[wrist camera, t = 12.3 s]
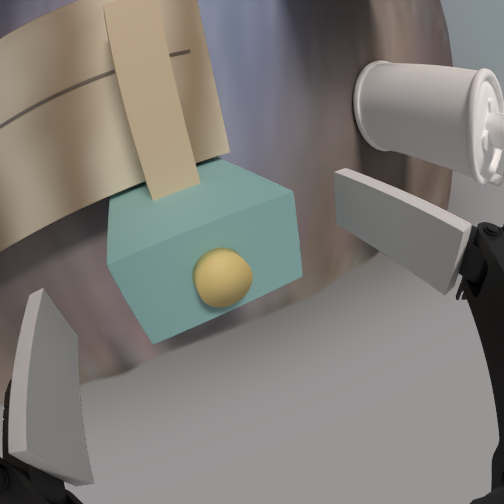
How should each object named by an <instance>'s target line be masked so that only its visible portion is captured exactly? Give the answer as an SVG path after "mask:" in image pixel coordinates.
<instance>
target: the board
mask: <svg viewBox="0 0 504 504" xmlns="http://www.w3.org/2000/svg"><path fill="white" fill-rule="evenodd" d="M113 1H116V0H79V1H76V2H73V3H71V4H68V5H66V6H63V7H61V8H59V9H56V10H54V11H52V12H49V13H47V14H45V15H43V16H41V17H39V18H37V19H35V20H33V21H31V22H29V23H27V24H25V25H23V26H21V27H20V28H18V29H16V30H14V31H13V32H11V33H9V34H7V35H6V36H4V37H3V38H1V39H0V252H1V251H3V250H4V249H6V248H8V247H9V246H11V245H13V244H14V243H16V242H18V241H20V240H21V239H23V238H25V237H27V236H28V235H30V234H32V233H34V232H36V231H38V230H40V229H41V228H43V227H45V226H47V225H49V224H51V223H53V222H55V221H57V220H59V219H61V218H63V217H65V216H67V215H69V214H71V213H73V212H75V211H77V210H79V209H81V208H84V207H86V206H88V205H90V204H92V203H94V202H97V201H99V200H101V199H103V198H106V197H108V196H110V195H113V194H115V193H117V192H120V191H122V190H125V189H127V188H129V187H132V186H134V185H137V184H139V183H142V182H145V178H144V175H143V172H142V169H141V166H140V163H139V159H138V156H137V153H136V149H135V146H134V143H133V139H132V136H131V132H130V129H129V125H128V122H127V118H126V114H125V111H124V107H123V103H122V99H121V95H120V91H119V87H118V83H117V78H116V74H115V70H114V65H113V61H112V56H111V51H110V46H109V41H108V36H107V30H106V25H105V19H104V7H103V4H106V3H109V2H113ZM158 4H159V9H160V14H161V19H162V24H163V28H164V33H165V38H166V42H167V47H168V52H169V56H170V61H171V65H172V70H173V74H174V78H175V83H176V87H177V91H178V95H179V100H180V104H181V108H182V112H183V116H184V120H185V124H186V128H187V132H188V136H189V140H190V144H191V148H192V152H193V156H194V160H195V163H197V162H201V161H204V160H207V159H210V158H213V157H216V156H219V155H223V154H226V153H229V152H230V149H229V145H228V140H227V136H226V131H225V126H224V122H223V117H222V113H221V108H220V103H219V99H218V94H217V90H216V85H215V80H214V76H213V71H212V67H211V62H210V57H209V53H208V48H207V44H206V39H205V34H204V30H203V25H202V21H201V16H200V11H199V7H198V2H197V0H158Z"/></svg>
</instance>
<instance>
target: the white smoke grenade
mask: <svg viewBox="0 0 504 504" xmlns="http://www.w3.org/2000/svg"><path fill="white" fill-rule="evenodd" d="M353 107H354V114H355V119H356V123H357V126H358V128H359V130H360V132H361V134H362V136H363V137H364V139H365V140H366V141H367V142H368V143H369V144H370V145H371V146H372V147H374V148H375V149H378V150H381V151H395V152H399V153H402V154H406V155H409V156H412V157H416V158H419V159H422V160H425V161H428V162H431V163H434V164H437V165H440V166H443V167H446V168H449V169H451V170H454V171H457V172H459V173H462V174H465V175H467V176H470V177H472V178H473V180H474V181H475V182H476V183H478V184H480V185H485V184H487V183H491V184H493V185H496V186H501V185H502V184H503V182H504V175H502V176H501V175H498V174H495V171H496V169H497V167H498V164H499V161H500V157H501V153H502V150H503V151H504V102H503V96H502V92H501V88H500V85H499V82H498V80H497V78H496V76H495V75H494V74H493V72H491V71H490V70H488V69H480V70H478V71H477V70H469V69H463V68H455V67H447V66H437V65H424V64H403V63H390V62H387V61H374V62H372V63H370V64H368V65H367V66H366V67H365V68H364V69H363V70H362V71H361V73H360V74H359V76H358V79H357V81H356V84H355V89H354V96H353Z"/></svg>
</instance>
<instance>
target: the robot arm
mask: <svg viewBox="0 0 504 504" xmlns="http://www.w3.org/2000/svg"><path fill="white" fill-rule="evenodd" d="M334 180H335V205H336V224H337V225H339V226H340V227H342V228H344V229H345V230H347V231H348V232H350V233H352V234H353V235H355V236H357V237H358V238H360V239H361V240H363V241H365V242H366V243H368V244H369V245H371V246H372V247H374V248H376V249H377V250H379V251H380V252H382V253H383V254H385V255H386V256H388V257H390V258H391V259H393V260H394V261H396V262H397V263H399V264H400V265H402V266H403V267H405V268H406V269H408V270H409V271H410V272H412V273H414V274H415V275H416V276H418V277H419V278H421V279H422V280H424V281H425V282H426V283H428V284H429V285H431V286H432V287H434V288H435V289H436V290H438V291H439V292H441V293H442V294H443V295H446V294H447V293H448V292H449V291H450V290H451V289H452V288H453V287H454V285H455V282H456V279H457V276H458V273H459V274H461V275H462V276H463V277H462V280H461V283H460V286H459V289H458V291H457V294H456V300H459V297H460V295H461V292H463V291H464V293H463V295H462V300H465V299H467V300H468V303H469V306H470V308H471V311H472V314H473V317H474V320H475V323H476V326H477V329H478V333H479V336H480V339H481V343H482V346H483V350H484V354H485V358H486V361H487V366H488V370H489V374H490V378H491V383H492V388H493V394H494V399H495V405H496V412H497V419H498V428H499V438H500V439H499V444H498V447H497V448H496V450H495V452H494V455H493V459H492V489H491V492H490V493H488V494H487V495H486V496H484V497H482V498H478V499H475V500H473V501H472V502H471V503H470V504H504V226H503V227H498V226H496V225H494V224H491V223H487V222H483V223H479V224H478V227H474V226H472V224H470V223H468V222H467V221H464V220H463V219H461V218H459V217H457V216H455V215H453V214H451V213H449V212H447V211H445V210H443V209H441V208H439V207H437V206H435V205H433V204H431V203H429V202H427V201H425V200H422V199H420V198H418V197H416V196H414V195H411V194H409V193H407V192H405V191H402V190H400V189H398V188H395V187H393V186H391V185H388V184H386V183H383V182H381V181H378V180H376V179H373V178H371V177H368V176H366V175H363V174H361V173H358V172H355V171H353V170H350V169H347V168H345V169H342V170H338V171H335V172H334ZM4 407H5V409H4V414H3V418H4V420H3V459H2V458H1V457H0V504H83V503H82V502H81V501H80V500H78V498H77V497H75V495H73V494H72V493H71V492H70V491H68V490H66V489H65V486H64V482H67V483H69V484H72V485H74V486H81V485H87V484H93V483H94V479H93V475H92V471H91V466H90V461H89V456H88V451H87V446H86V439H85V433H84V425H83V418H82V409H81V399H80V385H79V366H78V335H77V334H76V333H75V331H74V330H73V329H72V327H71V326H70V325H69V323H68V322H67V321H66V319H65V318H64V317H63V315H62V314H61V313H60V311H59V310H58V308H57V307H56V306H55V304H54V303H53V301H52V300H51V298H50V297H49V295H48V294H47V292H46V291H45V289H44V288H42V289H40V290H38V291H36V292H34V293H32V294H30V296H29V299H28V303H27V306H26V310H25V314H24V318H23V322H22V326H21V331H20V335H19V340H18V345H17V350H16V356H15V362H14V368H13V376H12V380H10V382H9V384H8V387H7V390H6V392H5V400H4Z"/></svg>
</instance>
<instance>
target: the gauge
mask: <svg viewBox="0 0 504 504" xmlns="http://www.w3.org/2000/svg"><path fill="white" fill-rule="evenodd" d="M103 7H104V19H105V25H106V30H107V36H108V41H109V46H110V51H111V56H112V61H113V65H114V70H115V74H116V78H117V83H118V87H119V91H120V95H121V99H122V103H123V107H124V111H125V114H126V118H127V122H128V125H129V129H130V132H131V136H132V139H133V143H134V146H135V149H136V153H137V156H138V159H139V163H140V166H141V169H142V172H143V175H144V178H145V182H142V183H139V184H137V185H134V186H132V187H129V188H127V189H125V190H122V191H120V192H117V193H115V194H113V195H110V202H109V215H108V235H107V266H108V268H109V270H110V272H111V274H112V276H113V278H114V280H115V282H116V283H117V285H118V287H119V289H120V291H121V293H122V294H123V296H124V298H125V300H126V301H127V303H128V305H129V307H130V308H131V310H132V312H133V313H134V315H135V317H136V318H137V320H138V322H139V323H140V325H141V327H142V328H143V330H144V331H145V333H146V334H147V336H148V338H149V339H150V341H151V342H152V344H156V343H158V342H160V341H163V340H165V339H168V338H170V337H172V336H175V335H177V334H179V333H182V332H184V331H186V330H188V329H191V328H193V327H195V326H198V325H200V324H202V323H204V322H207V321H209V320H211V319H213V318H216V317H218V316H220V315H222V314H224V313H227V312H229V311H231V310H233V309H235V308H237V307H240V306H242V305H244V304H246V303H248V302H250V301H252V300H255V299H257V298H259V297H261V296H263V295H265V294H267V293H269V292H271V291H273V290H276V289H278V288H280V287H282V286H284V285H286V284H288V283H290V282H292V281H294V280H296V279H298V278H300V277H302V276H303V274H302V264H301V254H300V244H299V235H298V226H297V217H296V209H295V201H294V193H293V191H291V190H289V189H287V188H285V187H283V186H281V185H278V184H276V183H274V182H272V181H270V180H268V179H266V178H263V177H261V176H259V175H257V174H255V173H252V172H250V171H248V170H246V169H243V168H241V167H239V166H237V165H234V164H232V163H230V162H227V161H225V160H223V159H220V158H218V157H213V158H210V159H207V160H204V161H201V162H197V163H195V160H194V156H193V152H192V148H191V144H190V140H189V136H188V132H187V128H186V124H185V120H184V116H183V112H182V108H181V104H180V100H179V95H178V91H177V87H176V83H175V78H174V74H173V70H172V65H171V61H170V56H169V52H168V47H167V42H166V38H165V33H164V28H163V24H162V19H161V14H160V9H159V4H158V0H116V1H113V2H109V3H106V4H103Z"/></svg>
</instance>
